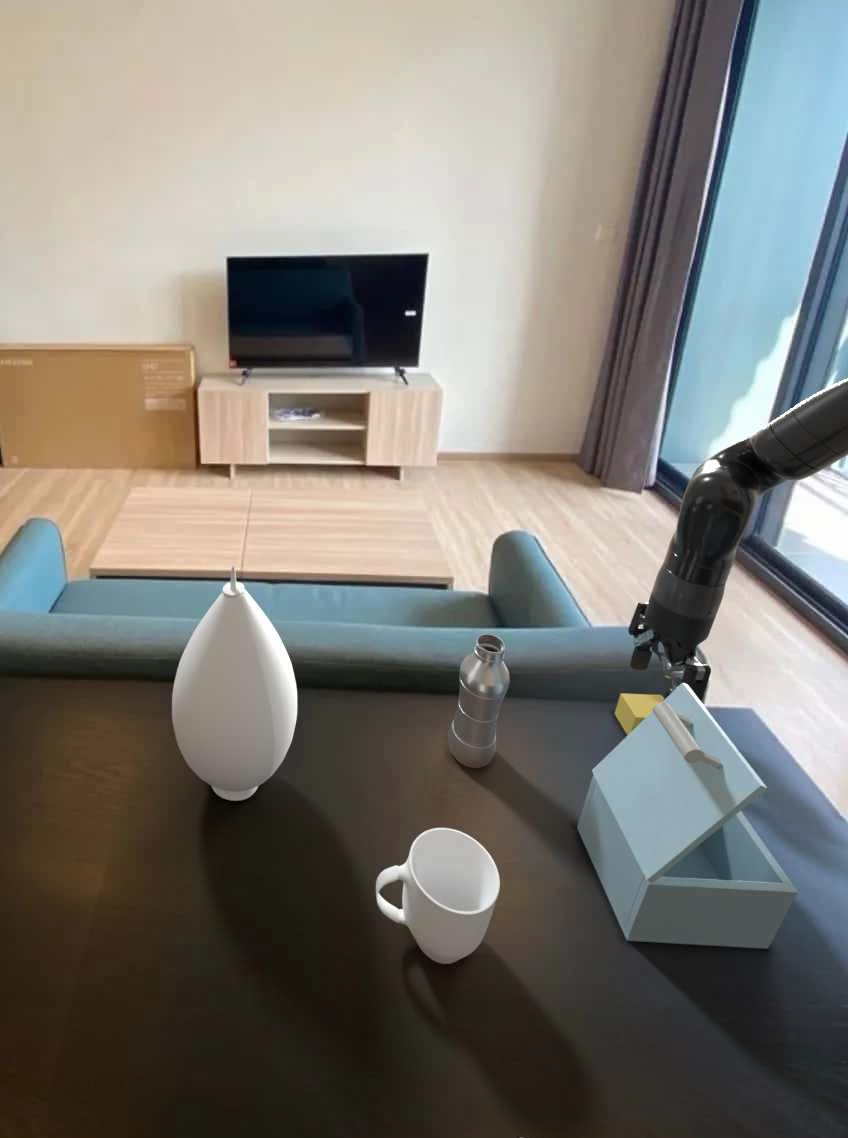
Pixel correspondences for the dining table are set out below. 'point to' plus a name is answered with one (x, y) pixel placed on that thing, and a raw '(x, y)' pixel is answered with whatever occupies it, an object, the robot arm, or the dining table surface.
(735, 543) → the robot arm
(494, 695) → the silver metal bottle
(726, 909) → the light blue box
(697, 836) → the box lid
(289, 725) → the lamp
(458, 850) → the mug
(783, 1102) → the dining table surface
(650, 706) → the sponge
